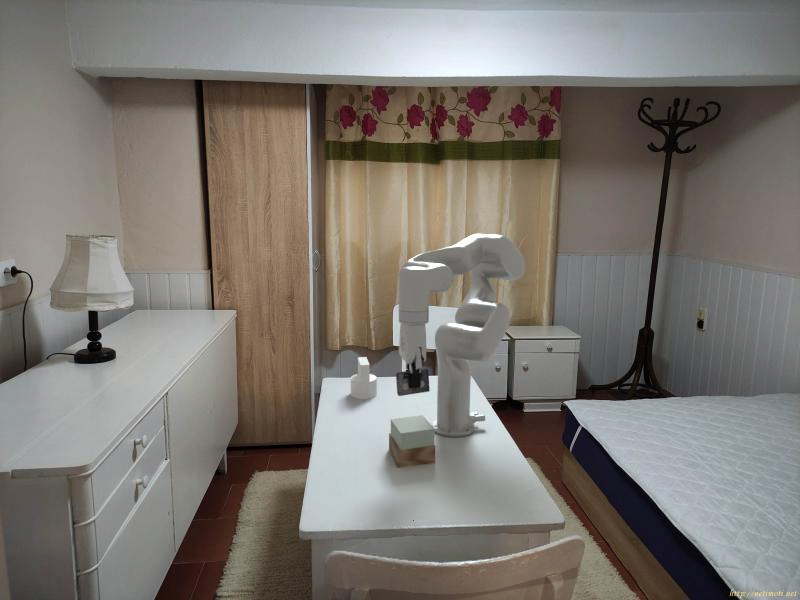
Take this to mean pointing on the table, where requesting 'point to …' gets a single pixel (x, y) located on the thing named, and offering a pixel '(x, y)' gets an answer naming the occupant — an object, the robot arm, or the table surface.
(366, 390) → the base with upright slab
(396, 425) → the tower top block
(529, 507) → the table surface
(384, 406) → the table surface
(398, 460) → the tower base block
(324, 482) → the table surface
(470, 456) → the table surface
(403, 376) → the mini dv tape
